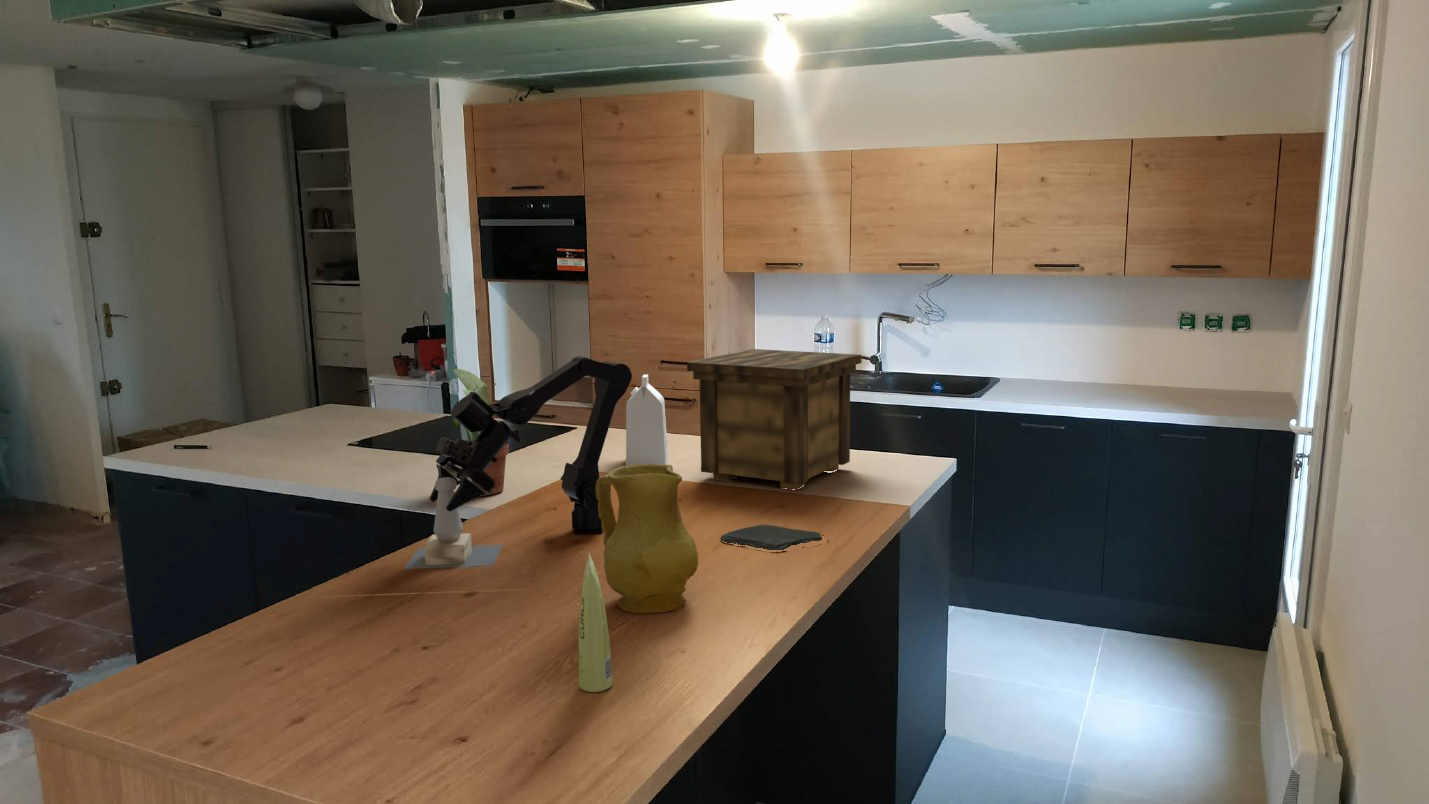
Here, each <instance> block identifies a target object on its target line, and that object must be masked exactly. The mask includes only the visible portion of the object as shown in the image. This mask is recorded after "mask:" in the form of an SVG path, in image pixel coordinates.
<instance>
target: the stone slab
mask: <svg viewBox="0 0 1429 804" xmlns="http://www.w3.org/2000/svg"><path fill="white" fill-rule="evenodd" d="M820 534H822V533H820V532H817V531H814V530H813V531H810V530H809V531H808V530H803V529H795V528H788V527H784V526H778V525H772V524H771V525H770V524H769V525H768V524H757V525H753V526H747V527H744V528H739V529H736V530H735V529H734V530H732V531H729V532H726V533H724V534H722V535H721V536H720V538H719V539H720V541H721V540H722V541H724V542H727V543H734V544H736V543H737V544H738V545H739V544H740V545H748V546H751V547H755V548H763V549H767V550H784V549H786V548H788V547H790V546H791V545H797V544H800V543H807V542H810V541H820V540H822V537H821V535H820ZM822 536H825V535H824V534H822Z"/></svg>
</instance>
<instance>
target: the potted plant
mask: <svg viewBox="0 0 1429 804" xmlns="http://www.w3.org/2000/svg"><path fill="white" fill-rule="evenodd" d="M452 371H453V373H454V375H455V376H456V377H457V379H458V380H459V382H460V383H462V385H463V386H464V388H465V389H462V392H463V394H464V395H465V396H468V395H469V394H470V392H475V393H477V394H478V395H479V396H480V397H481V399H482V400H483V401H484V402H486V403H487V404H488V405H490V404H493V403H492V402H491V401H490V399H489V398H490V395H489V394H488V393H487V390H486V389H487V388H486V387H487V386H488V385H487V384H486V383H485V382H484V381H483V380H482V379H480V378H479V377H478V376H477V375H476V374H474V373H472V372H470V371H468V370H464V369H462V368H455V369H453V370H452ZM451 424H452V425H453V427H454V428H455V429H458V428H459V425H461V424H460V423H459V422H458V421H457V420H456V419H454V418H453V417H452V420H451ZM462 427H463V428H464V430H465V431H466V435H467V440H466V439H465V441H468V440H471V441H473V440H474V439H475V438H476V437H477V435H478V434H479V433H480V432H477V431H476V432H473V433H471V432H470V431H469V430H467V429H466V428H465V427H464V426H463V425H462ZM509 447H510V443H509V440H508V441H507V443H506V444H505V445H504V446H503V448H502V449H501V450H500V452H499V453H498V454H497V455H496V457H495V458H497V459H498V460H497V461H496V462H495V463H493V462H491V463H490V464H489V466H488V467H487V468H486V469H485V471H484V472H485V473H486V474H488V475H489V476H490V477H491V478H492V479H494V480H495V487H494V489H493V490H492V491H491V493H490V494H489V493H487V492H485V491H483V492H484V493H485V495H484V496H490V495H491V496H492V495H495V494H498V493H501V492H502V493H503V491H504V486H505V475H506V473H505V472H506V460H507V459H506V457H507V455H508V454H509V451H510V450H509V449H510V448H509ZM465 478H467V477H465Z"/></svg>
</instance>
